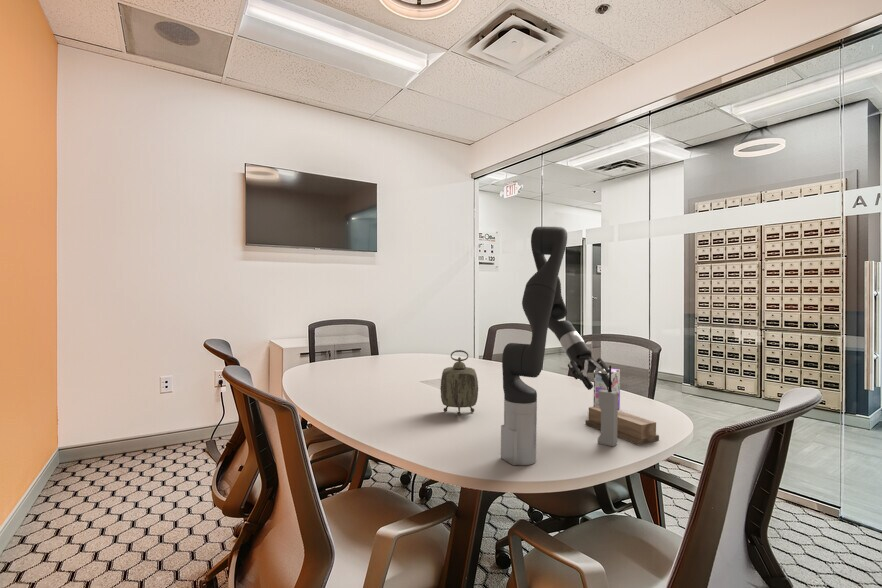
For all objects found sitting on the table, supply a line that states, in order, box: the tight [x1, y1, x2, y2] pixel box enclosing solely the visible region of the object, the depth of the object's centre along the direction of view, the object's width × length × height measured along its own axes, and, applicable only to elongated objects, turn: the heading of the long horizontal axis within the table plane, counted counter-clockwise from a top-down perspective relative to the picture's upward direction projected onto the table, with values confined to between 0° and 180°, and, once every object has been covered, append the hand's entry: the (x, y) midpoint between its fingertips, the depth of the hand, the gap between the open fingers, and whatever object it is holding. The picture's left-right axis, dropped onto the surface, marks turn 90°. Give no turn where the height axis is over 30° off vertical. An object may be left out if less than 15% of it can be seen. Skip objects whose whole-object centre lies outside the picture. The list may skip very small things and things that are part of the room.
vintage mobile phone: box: [597, 365, 619, 447], centre depth 132 cm, size 4×5×25 cm
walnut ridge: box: [585, 405, 660, 446], centre depth 144 cm, size 10×22×6 cm, turn 27°
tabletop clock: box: [439, 349, 479, 417], centre depth 162 cm, size 14×9×25 cm, turn 88°
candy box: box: [592, 367, 621, 410], centre depth 169 cm, size 14×6×16 cm, turn 137°
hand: (600, 387), depth 135 cm, fingers open, 8 cm apart
